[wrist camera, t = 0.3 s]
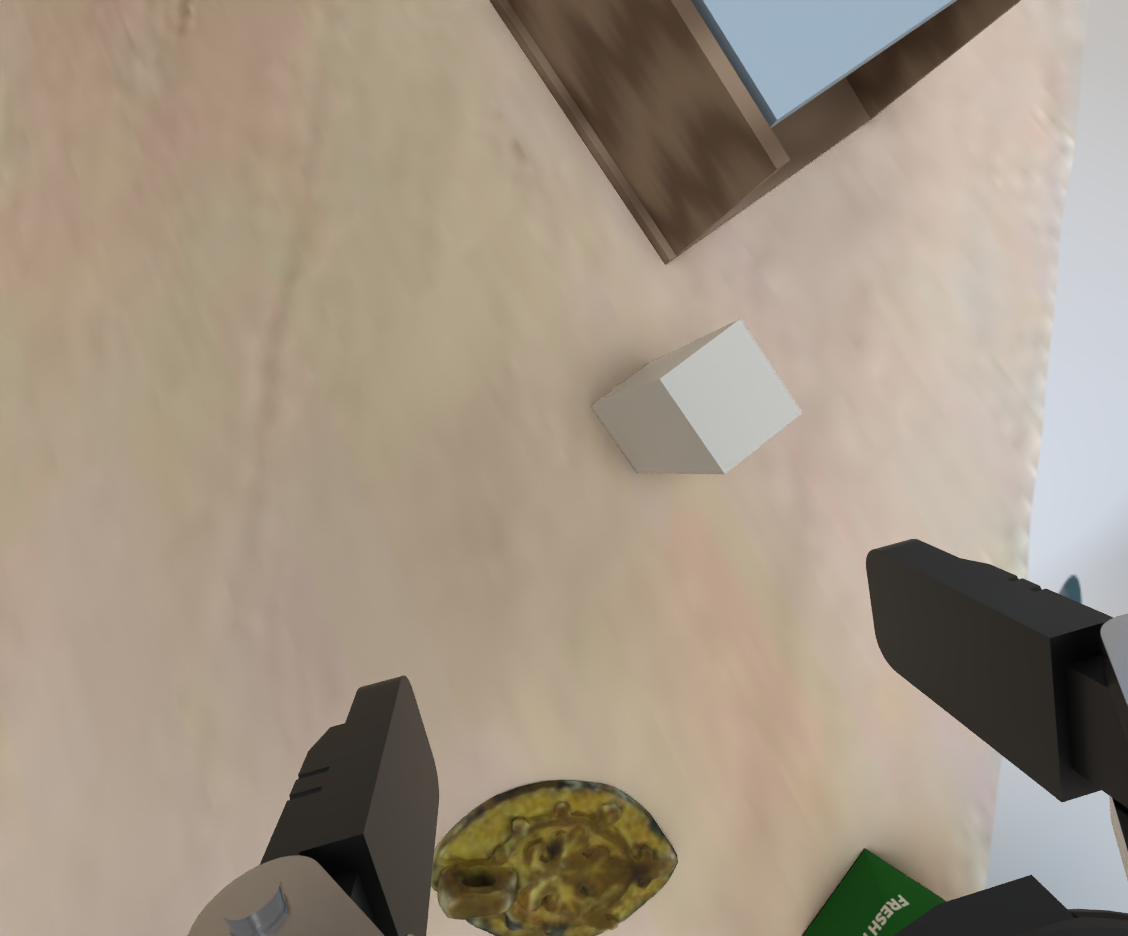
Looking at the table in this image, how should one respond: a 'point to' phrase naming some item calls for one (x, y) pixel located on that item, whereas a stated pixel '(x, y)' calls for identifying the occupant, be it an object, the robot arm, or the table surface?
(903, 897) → the milk carton
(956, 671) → the robot arm
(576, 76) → the trapdoor stand
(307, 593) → the table surface
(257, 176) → the table surface
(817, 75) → the trapdoor
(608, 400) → the grey stone pillar
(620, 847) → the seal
